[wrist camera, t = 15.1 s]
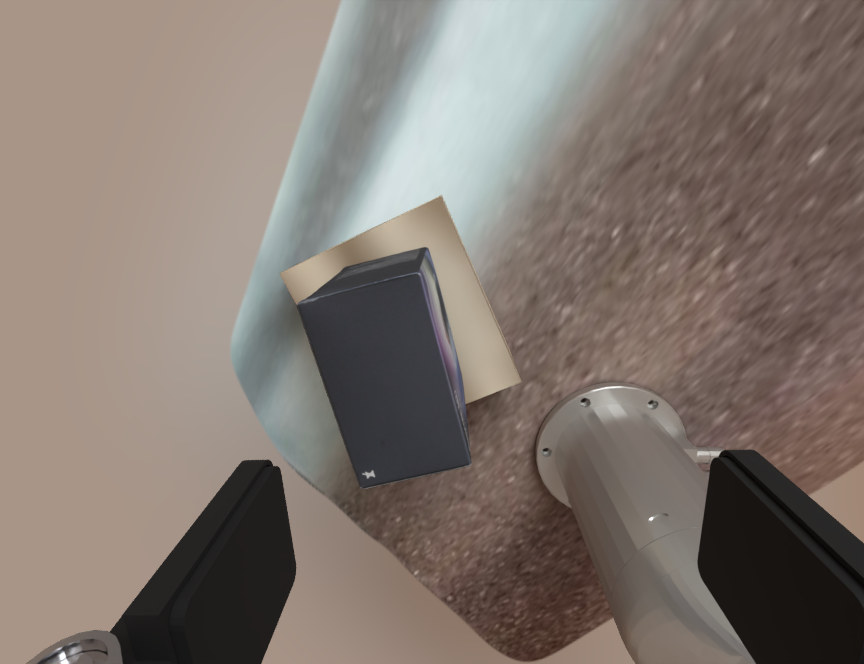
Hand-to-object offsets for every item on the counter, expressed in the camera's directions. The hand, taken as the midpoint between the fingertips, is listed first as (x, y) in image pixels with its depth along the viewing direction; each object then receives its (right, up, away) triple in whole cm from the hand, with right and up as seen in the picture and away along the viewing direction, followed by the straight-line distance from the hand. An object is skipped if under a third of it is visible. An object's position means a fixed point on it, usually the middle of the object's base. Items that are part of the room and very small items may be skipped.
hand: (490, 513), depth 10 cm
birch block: (-3, +6, +28) cm, 29 cm away
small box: (-3, +4, +23) cm, 23 cm away
